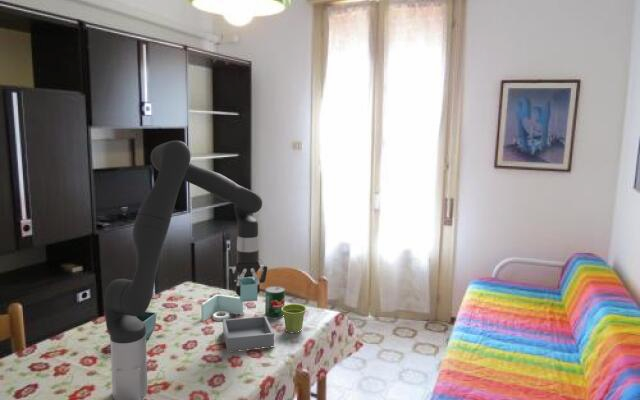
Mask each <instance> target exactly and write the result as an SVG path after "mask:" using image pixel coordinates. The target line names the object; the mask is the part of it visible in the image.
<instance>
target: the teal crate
mask: <svg viewBox="0 0 640 400" xmlns="http://www.w3.org/2000/svg"><path fill="white" fill-rule="evenodd" d="M238 297H239V298H240V300H241V302H243V303H247V302H258V295H257V282H256V281H255V279H254V277H243V280H242V281H241V283H240V296H238Z"/></svg>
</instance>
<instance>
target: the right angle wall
mask: <svg viewBox="0 0 640 400" xmlns="http://www.w3.org/2000/svg"><path fill="white" fill-rule="evenodd" d="M200 309H201V322H205V321H206V320H208V319H210V317H212V320H214V321H215V322H221V321H222V322H223V320H226V319H230V316H231V315H230V314H232V313H233V315H238V314H240V315H239V316H243V315H244V302H241V300H240V297H239V296H231V295H227V294H226V295H225V294H224V295H223V294H219V293H218V294H215V295H214V296H212V297H211V298H209V299H207V300H205V301H204V302H202V303H201V308H200ZM242 314H243V315H242Z"/></svg>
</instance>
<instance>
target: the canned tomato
mask: <svg viewBox="0 0 640 400" xmlns="http://www.w3.org/2000/svg"><path fill="white" fill-rule="evenodd" d="M285 291H286V288H285V287H283V286H280V285H279V286H278V285H272V286H268V287H266V288H265V294H264V295H265V298H264V299H265V308H264V310H265V311H264V314H265V315H264V316H266V317H267V318H268V317H269V318H268V319H272V318H277V319H279V318H278V317H281V318H283V317H284V316H283V315H284V314H283V311H282V307H283V306H285V295H286V292H285ZM282 316H283V317H282Z"/></svg>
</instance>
